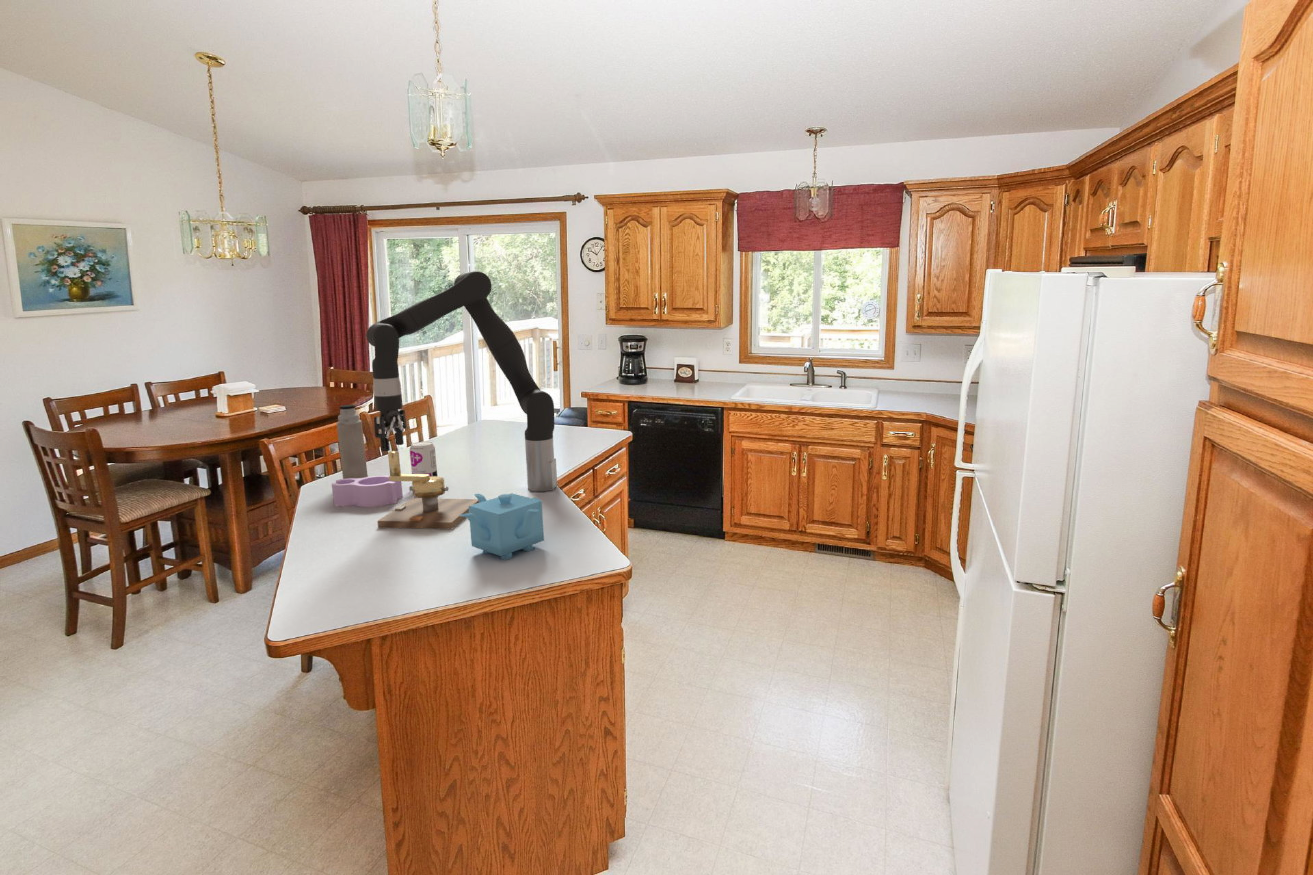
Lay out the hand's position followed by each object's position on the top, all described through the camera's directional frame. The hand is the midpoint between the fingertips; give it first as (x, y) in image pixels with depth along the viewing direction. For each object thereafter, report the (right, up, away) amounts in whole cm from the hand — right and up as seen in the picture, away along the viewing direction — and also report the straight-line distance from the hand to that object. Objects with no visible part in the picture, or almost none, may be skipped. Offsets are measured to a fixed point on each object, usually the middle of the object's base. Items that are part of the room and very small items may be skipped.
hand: (392, 447), depth 210 cm
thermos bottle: (-27, -14, +39) cm, 50 cm away
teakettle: (+39, -26, -26) cm, 54 cm away
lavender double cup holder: (-15, -18, +19) cm, 30 cm away
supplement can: (-2, -14, +35) cm, 38 cm away
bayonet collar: (+7, -14, +2) cm, 15 cm away
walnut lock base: (+10, -20, +3) cm, 23 cm away
